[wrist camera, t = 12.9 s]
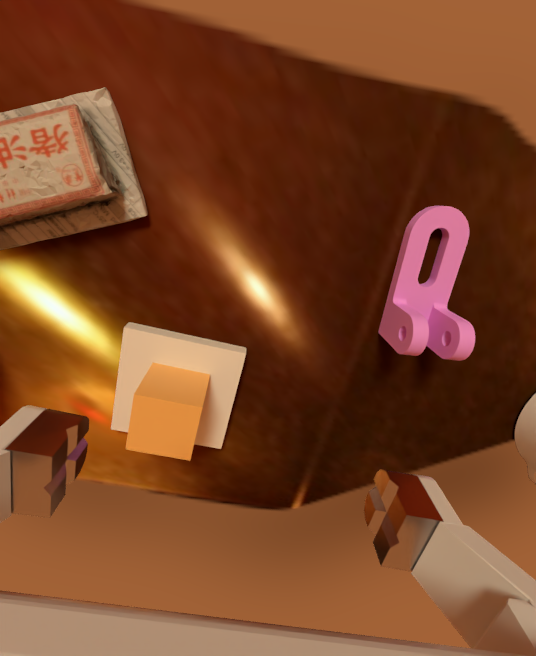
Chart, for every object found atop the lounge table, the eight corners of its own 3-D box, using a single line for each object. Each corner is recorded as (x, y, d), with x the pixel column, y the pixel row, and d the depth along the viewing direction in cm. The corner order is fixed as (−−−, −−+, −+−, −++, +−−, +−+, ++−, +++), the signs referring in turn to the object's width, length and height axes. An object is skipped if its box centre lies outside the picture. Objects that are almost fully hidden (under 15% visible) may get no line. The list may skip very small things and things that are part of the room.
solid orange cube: (210, 374, 35) (202, 407, 30) (199, 421, 37) (190, 460, 32) (152, 362, 35) (133, 394, 29) (144, 410, 37) (125, 449, 31)
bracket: (427, 337, 37) (466, 367, 30) (377, 332, 36) (405, 361, 30) (468, 210, 33) (523, 213, 26) (412, 201, 32) (453, 202, 26)
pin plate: (246, 347, 36) (245, 372, 31) (222, 440, 40) (217, 475, 35) (129, 321, 35) (107, 343, 29) (115, 420, 39) (95, 455, 33)
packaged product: (-80, 269, 28) (-161, 131, 24) (-34, 259, 32) (-96, 141, 29) (136, 218, 27) (86, 69, 24) (153, 216, 32) (113, 90, 28)
